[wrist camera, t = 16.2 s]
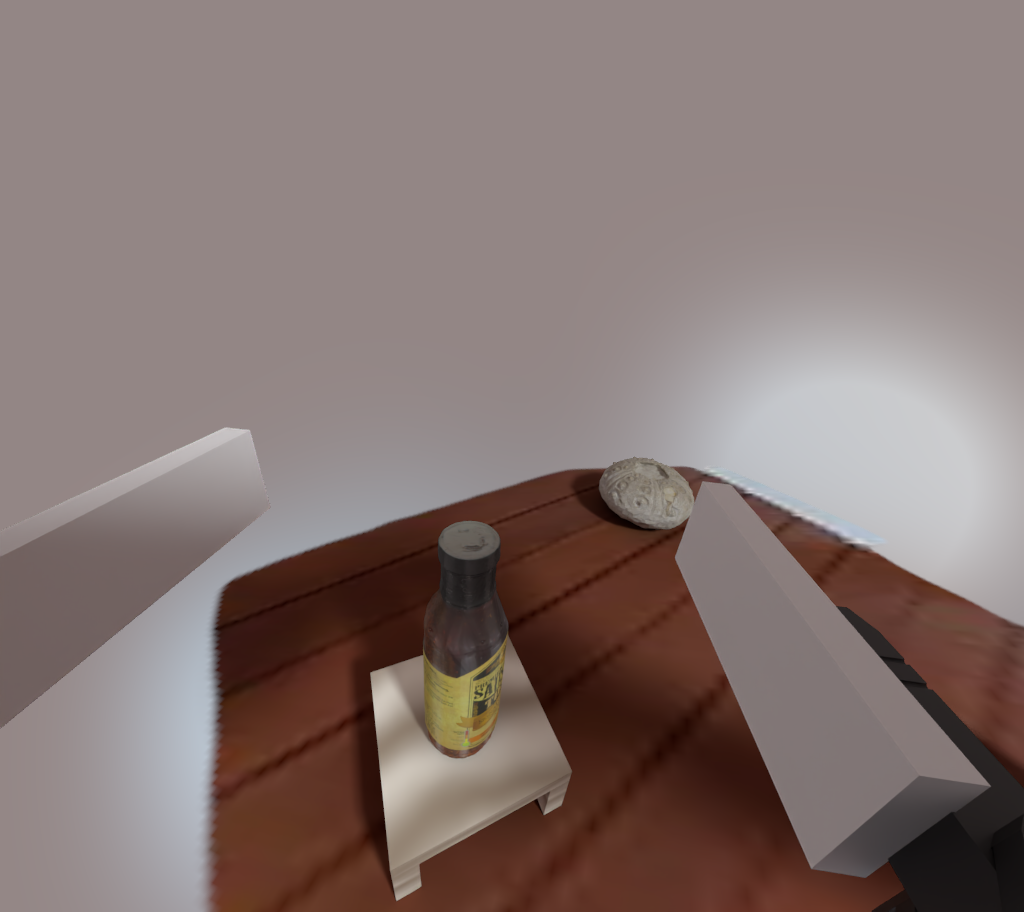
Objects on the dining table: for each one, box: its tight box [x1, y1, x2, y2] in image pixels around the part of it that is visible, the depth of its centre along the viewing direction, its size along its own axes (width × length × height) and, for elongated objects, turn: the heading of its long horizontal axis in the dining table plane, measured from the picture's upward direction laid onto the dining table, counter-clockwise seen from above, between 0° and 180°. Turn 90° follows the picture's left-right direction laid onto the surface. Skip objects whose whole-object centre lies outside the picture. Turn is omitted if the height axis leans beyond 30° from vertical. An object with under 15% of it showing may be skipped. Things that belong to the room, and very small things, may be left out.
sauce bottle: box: [423, 521, 508, 759], centre depth 27 cm, size 6×6×20 cm
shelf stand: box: [370, 636, 572, 901], centre depth 33 cm, size 14×14×6 cm
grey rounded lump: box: [599, 457, 694, 529], centre depth 71 cm, size 18×18×10 cm
